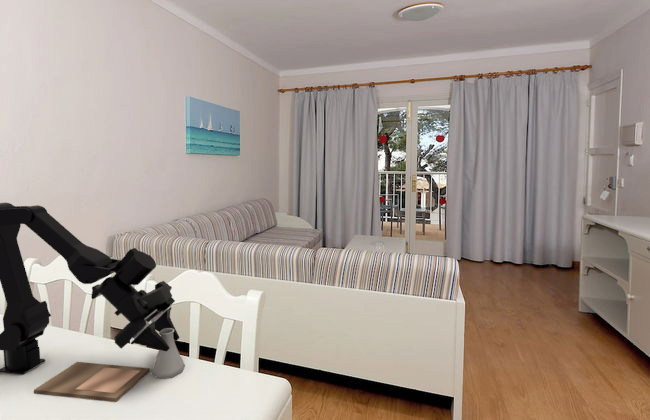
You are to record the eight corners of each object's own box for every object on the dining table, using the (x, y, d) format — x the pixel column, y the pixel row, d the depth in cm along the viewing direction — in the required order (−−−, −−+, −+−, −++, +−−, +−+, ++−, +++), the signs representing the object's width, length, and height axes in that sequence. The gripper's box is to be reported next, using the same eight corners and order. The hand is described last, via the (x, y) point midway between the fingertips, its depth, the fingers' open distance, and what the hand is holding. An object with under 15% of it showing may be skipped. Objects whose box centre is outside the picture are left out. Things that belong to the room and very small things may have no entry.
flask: (173, 381, 87) (171, 339, 86) (144, 377, 89) (143, 335, 88) (190, 365, 94) (189, 325, 93) (163, 361, 96) (162, 323, 95)
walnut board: (34, 393, 82) (33, 389, 82) (77, 364, 94) (77, 361, 94) (116, 401, 79) (115, 397, 79) (150, 371, 91) (150, 367, 91)
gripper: (126, 287, 80) (180, 339, 81) (166, 264, 98) (209, 307, 99) (91, 322, 81) (144, 374, 82) (136, 293, 100) (180, 335, 100)
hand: (173, 344), depth 91 cm, fingers open, 5 cm apart
